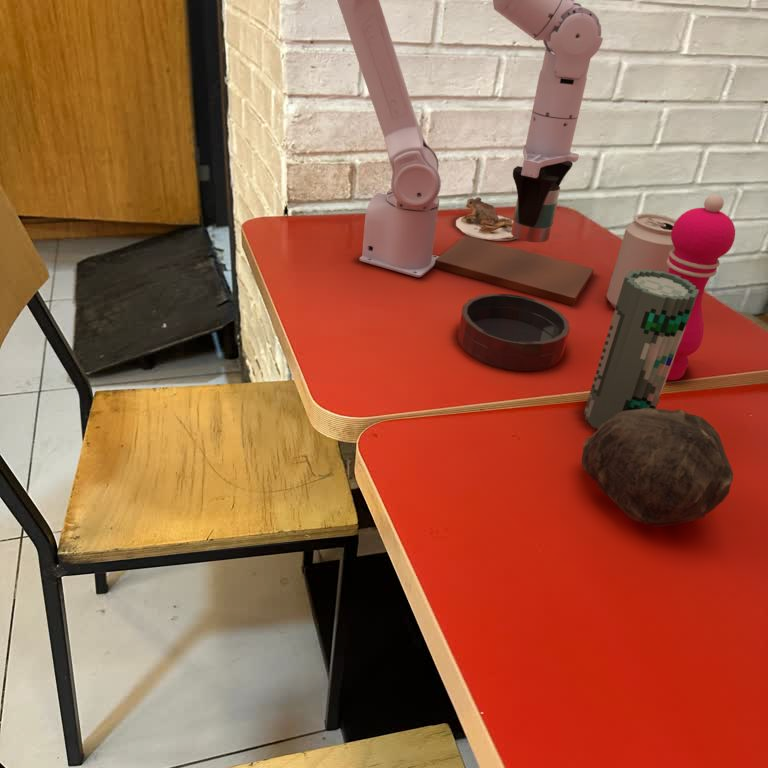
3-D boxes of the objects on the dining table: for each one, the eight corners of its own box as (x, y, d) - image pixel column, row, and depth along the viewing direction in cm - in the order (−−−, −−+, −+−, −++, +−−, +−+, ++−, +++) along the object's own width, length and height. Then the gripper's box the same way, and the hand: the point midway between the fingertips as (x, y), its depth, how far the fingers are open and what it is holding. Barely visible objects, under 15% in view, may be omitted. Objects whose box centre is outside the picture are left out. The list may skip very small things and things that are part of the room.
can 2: (638, 447, 66) (690, 305, 58) (577, 423, 68) (618, 284, 60) (653, 418, 70) (703, 282, 62) (595, 396, 73) (636, 263, 65)
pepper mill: (687, 359, 82) (751, 192, 71) (689, 389, 76) (760, 212, 65) (624, 345, 83) (678, 179, 72) (622, 373, 77) (679, 197, 67)
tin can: (505, 236, 94) (515, 185, 91) (517, 225, 98) (527, 176, 95) (543, 245, 93) (554, 194, 89) (553, 234, 97) (564, 184, 93)
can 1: (665, 323, 89) (696, 235, 83) (606, 314, 90) (632, 225, 84) (658, 299, 95) (686, 215, 89) (602, 290, 96) (627, 206, 90)
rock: (591, 433, 65) (633, 352, 59) (708, 493, 62) (766, 415, 55) (552, 499, 59) (593, 416, 52) (680, 571, 55) (743, 493, 48)
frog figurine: (438, 223, 113) (442, 200, 111) (485, 211, 121) (489, 189, 119) (492, 246, 107) (496, 222, 105) (538, 232, 114) (543, 210, 112)
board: (433, 267, 98) (435, 259, 97) (463, 242, 107) (465, 235, 106) (573, 306, 91) (575, 297, 91) (592, 276, 100) (594, 268, 100)
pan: (442, 350, 78) (446, 322, 76) (478, 310, 88) (483, 284, 86) (546, 383, 74) (554, 355, 72) (573, 337, 84) (580, 311, 82)
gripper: (572, 129, 80) (547, 241, 87) (598, 111, 91) (574, 211, 98) (514, 118, 82) (494, 228, 90) (546, 101, 93) (526, 200, 101)
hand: (532, 218), depth 94 cm, fingers closed on tin can, 5 cm apart
